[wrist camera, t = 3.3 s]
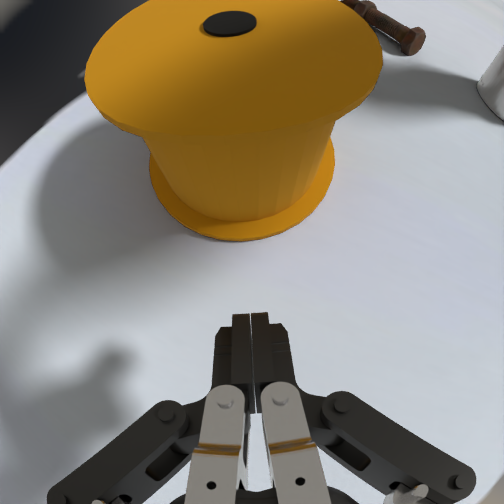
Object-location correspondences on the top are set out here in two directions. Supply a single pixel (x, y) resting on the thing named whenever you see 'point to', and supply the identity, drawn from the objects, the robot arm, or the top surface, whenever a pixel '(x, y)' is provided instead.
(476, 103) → the top surface
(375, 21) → the bolt
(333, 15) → the spool
